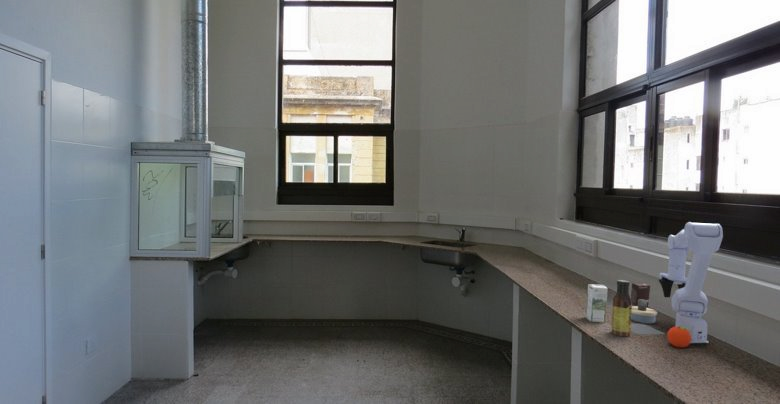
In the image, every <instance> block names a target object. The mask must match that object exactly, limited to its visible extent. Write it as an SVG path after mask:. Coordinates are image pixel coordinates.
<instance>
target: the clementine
mask: <svg viewBox="0 0 780 404" xmlns="http://www.w3.org/2000/svg"><path fill="white" fill-rule="evenodd" d="M686 329H687V328H684V327H680V326H679V327H675V326H673V327H670V328H669V330H668V331H667V334H666V336H667V339H668V342H669V343H670V344H671V345H672V346H674V347H676V348H686V347H688V346H690V344H691V343H690V342H691V335H690V333H689V332H688V331H687V330H689V329H687V330H686ZM691 332H692V331H691ZM693 334H694V333H693ZM694 336H695V335H694Z"/></svg>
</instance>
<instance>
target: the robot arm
mask: <svg viewBox="0 0 780 404" xmlns="http://www.w3.org/2000/svg"><path fill="white" fill-rule="evenodd" d="M723 238H724V233H723V227H722V225H721V224H720V223H703V222H691V221H688V222H686V223H685V225H684V228H682V229H681V230H680V231H679V232H678V233H677V234H676V235H673V234H669V236H668V238H667V248H668V250H669V252H668V268H667V273H665V272H660V273H659V279H658V282H659V284H660V285H661V288H662V292H663V298H671V302H670V303H671V309H672V310H673V311H674V312H675V313H676V315H675V326H674V327H679V326H680V327H684V328H687V329H689V330H687V329H686V330H687V331H688V332H689V333H690V335H691V342H690V344H708V343H709V341H708V329H709V326H708V323H707V321H706V320H705V319H703V318H702V317H703V316H704V315H705V314H706V313H707V310H708V303H709V299H708V297H707V295H706V293H704V292H703V291H702V288H703V285H704V282H705V280H706V276H707V272H708V269H709V266H710V263H711V260H712V257H713V254H714V253H716V252H717V251H719V250H720V246H721V243H722V241H723ZM689 250H690V251H692V252H693V257H692V260H691V264H690V267H689V270H688V274H687V277H686V266H687V256H688V255H689ZM685 277H686V278H685ZM675 282H676V283H677V287H678V289H676V290H675V291H674V294H673V295H672V296H671V294H672V289H673V285H674V283H675ZM691 331H692V332H691ZM693 333H694V334H693ZM694 335H695V336H694Z"/></svg>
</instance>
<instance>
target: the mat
mask: <svg viewBox="0 0 780 404" xmlns="http://www.w3.org/2000/svg"><path fill="white" fill-rule="evenodd" d="M630 333H633V334H635V335H638V336H640V335H644V336H645V335H646V336H647V335H666V332H663V331H660V330H658V329H656V328H653V327H651V326H649V325H647V324H646V323H631V332H630Z"/></svg>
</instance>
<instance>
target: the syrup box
mask: <svg viewBox="0 0 780 404" xmlns="http://www.w3.org/2000/svg"><path fill="white" fill-rule="evenodd" d="M608 290H609V289H608V287H607V286H605V284H595V283H593V284H592V283H588V285H587V296H586V297H587V298H586V312H585V318H586V319H587V320H588V321H589V322H592V323H606V315H607V303H608Z"/></svg>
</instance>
